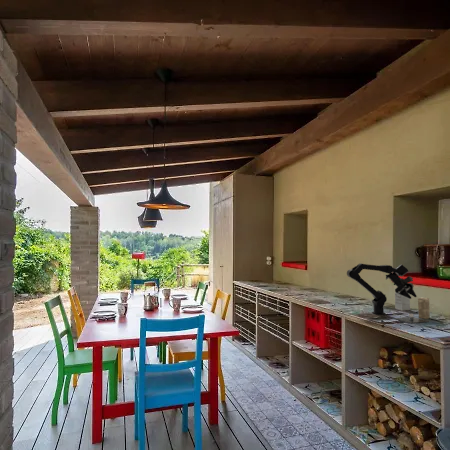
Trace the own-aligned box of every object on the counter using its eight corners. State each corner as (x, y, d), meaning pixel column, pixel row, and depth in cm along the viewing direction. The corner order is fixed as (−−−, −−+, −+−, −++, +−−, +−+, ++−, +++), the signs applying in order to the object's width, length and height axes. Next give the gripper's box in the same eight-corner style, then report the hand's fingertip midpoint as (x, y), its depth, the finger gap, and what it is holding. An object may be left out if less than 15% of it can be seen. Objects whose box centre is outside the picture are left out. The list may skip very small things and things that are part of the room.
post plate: (394, 318, 237) (394, 312, 237) (412, 317, 241) (411, 311, 241) (410, 323, 224) (410, 316, 224) (429, 322, 227) (429, 315, 228)
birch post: (418, 317, 240) (418, 298, 241) (421, 316, 243) (421, 297, 244) (426, 318, 236) (426, 299, 237) (429, 317, 240) (429, 298, 240)
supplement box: (403, 308, 272) (403, 291, 273) (410, 310, 265) (410, 293, 265) (394, 309, 271) (394, 292, 271) (401, 310, 263) (401, 293, 264)
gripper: (399, 273, 244) (417, 291, 235) (410, 271, 256) (427, 288, 247) (387, 284, 249) (404, 302, 240) (399, 281, 262) (415, 298, 253)
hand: (413, 297), depth 245 cm, fingers open, 9 cm apart
